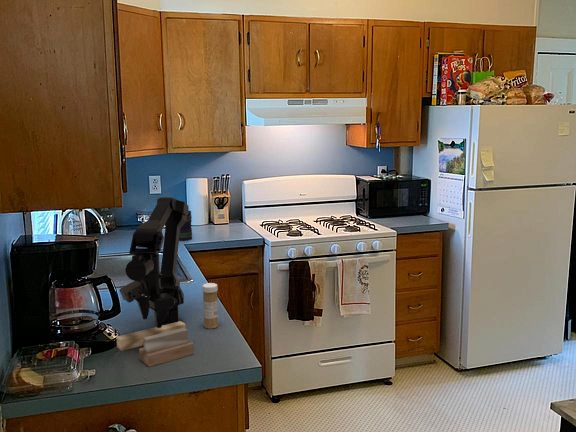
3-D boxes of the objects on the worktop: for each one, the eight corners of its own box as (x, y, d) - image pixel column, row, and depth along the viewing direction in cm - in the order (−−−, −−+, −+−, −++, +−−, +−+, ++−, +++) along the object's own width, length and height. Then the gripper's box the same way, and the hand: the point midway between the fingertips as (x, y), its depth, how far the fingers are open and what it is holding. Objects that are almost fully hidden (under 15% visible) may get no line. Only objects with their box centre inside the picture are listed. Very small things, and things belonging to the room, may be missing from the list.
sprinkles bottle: (212, 322, 178) (211, 281, 176) (221, 326, 175) (220, 284, 173) (200, 326, 175) (199, 284, 173) (209, 330, 172) (208, 287, 169)
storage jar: (195, 239, 302) (194, 212, 299) (177, 242, 297) (176, 213, 294) (188, 236, 310) (187, 209, 308) (170, 238, 305) (169, 211, 302)
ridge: (139, 359, 151) (138, 336, 150) (183, 347, 159) (182, 325, 158) (149, 366, 146) (148, 343, 145) (193, 354, 154) (192, 331, 153)
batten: (121, 352, 157) (120, 340, 156) (117, 348, 159) (116, 336, 158) (185, 335, 169) (185, 323, 168) (181, 332, 171) (180, 321, 171)
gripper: (109, 269, 163) (112, 320, 165) (136, 283, 148) (139, 339, 151) (145, 262, 170) (147, 312, 172) (174, 276, 155) (176, 330, 158)
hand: (152, 323), depth 163 cm, fingers open, 9 cm apart
